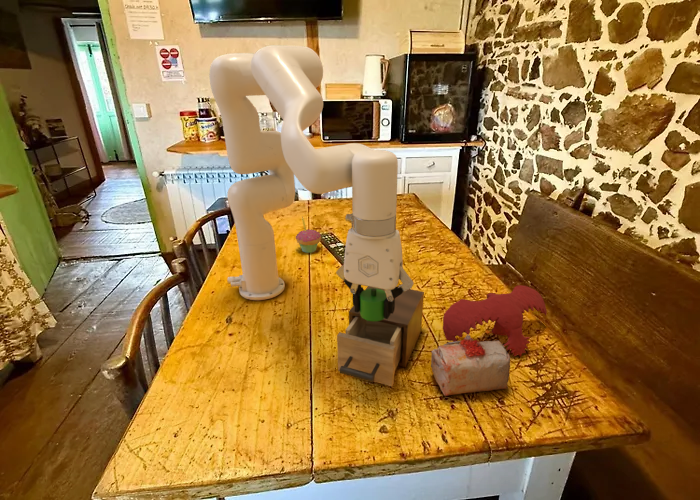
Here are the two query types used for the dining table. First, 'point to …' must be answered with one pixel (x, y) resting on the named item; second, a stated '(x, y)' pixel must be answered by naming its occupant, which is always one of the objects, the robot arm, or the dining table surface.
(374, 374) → the drawer
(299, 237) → the cupcake
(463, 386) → the food item
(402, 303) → the cabinet
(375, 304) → the pepper
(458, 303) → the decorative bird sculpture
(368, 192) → the robot arm
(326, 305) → the dining table surface
